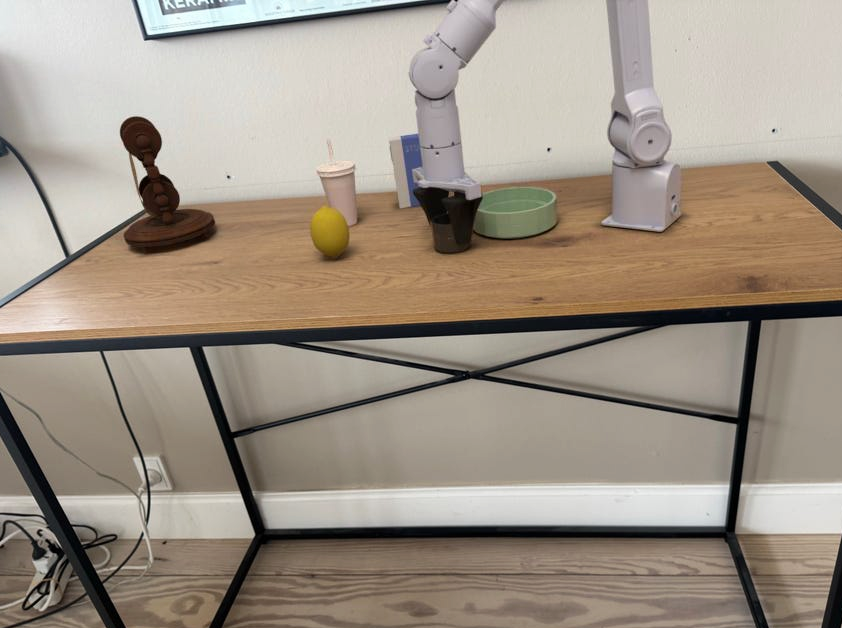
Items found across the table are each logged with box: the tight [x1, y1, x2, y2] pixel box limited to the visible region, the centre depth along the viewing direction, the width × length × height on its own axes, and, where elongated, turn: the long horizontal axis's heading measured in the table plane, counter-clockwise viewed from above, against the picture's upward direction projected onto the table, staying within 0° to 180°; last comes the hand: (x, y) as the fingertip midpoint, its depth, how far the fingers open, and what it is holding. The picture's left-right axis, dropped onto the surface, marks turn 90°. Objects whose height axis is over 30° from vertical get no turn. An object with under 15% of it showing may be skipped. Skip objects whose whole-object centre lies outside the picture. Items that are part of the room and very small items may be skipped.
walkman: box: [388, 133, 423, 209], centre depth 120 cm, size 8×3×12 cm, turn 99°
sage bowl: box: [473, 186, 558, 240], centre depth 107 cm, size 13×13×4 cm
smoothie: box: [315, 138, 358, 227], centre depth 114 cm, size 6×6×14 cm
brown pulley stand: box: [119, 115, 216, 255], centre depth 115 cm, size 15×15×20 cm
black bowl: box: [429, 212, 473, 254], centre depth 101 cm, size 6×6×4 cm
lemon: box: [309, 205, 350, 259], centre depth 101 cm, size 6×6×8 cm
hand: (451, 238), depth 102 cm, fingers closed on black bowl, 6 cm apart
